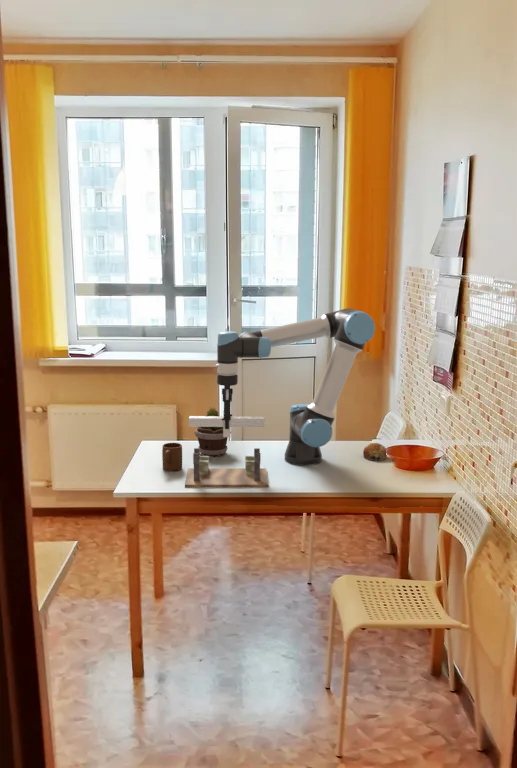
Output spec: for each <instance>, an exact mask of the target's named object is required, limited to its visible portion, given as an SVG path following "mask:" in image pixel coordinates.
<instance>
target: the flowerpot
mask: <svg viewBox="0 0 517 768" xmlns="http://www.w3.org/2000/svg"><path fill="white" fill-rule="evenodd" d="M204 414H205V413H204ZM204 416H220V412H219V410H217V409H216V408H215V406H213V407H209V409H208V410H207V411H206V414H205V415H204ZM194 436H195V437H197V441H198V446H197V448H200V456H209V458H217V457H222V456H224V455H225V454H226V452H227V451H228V445H227V443H228V439H229V437H223V427H196V429H195V430H194Z"/></svg>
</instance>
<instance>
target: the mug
mask: <svg viewBox="0 0 517 768" xmlns="http://www.w3.org/2000/svg"><path fill="white" fill-rule="evenodd" d="M161 448H162V452H161V453H162V454H161V455H162V469H163V470H164V471H166V472H177V471H180V470H181V469H183V445H182V444H181V443H179V442H167V443H164V444H162V447H161Z"/></svg>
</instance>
